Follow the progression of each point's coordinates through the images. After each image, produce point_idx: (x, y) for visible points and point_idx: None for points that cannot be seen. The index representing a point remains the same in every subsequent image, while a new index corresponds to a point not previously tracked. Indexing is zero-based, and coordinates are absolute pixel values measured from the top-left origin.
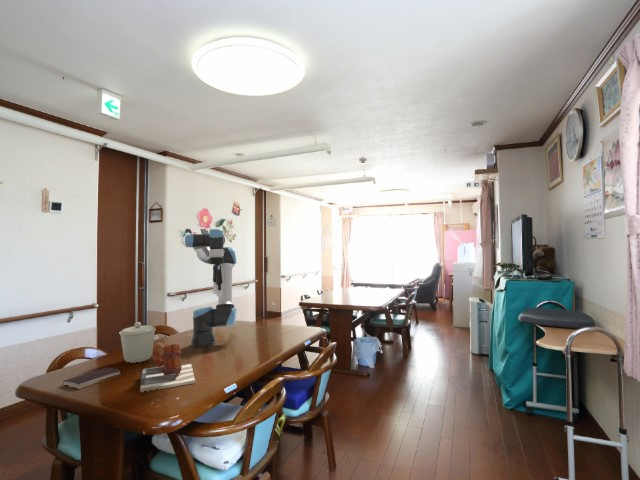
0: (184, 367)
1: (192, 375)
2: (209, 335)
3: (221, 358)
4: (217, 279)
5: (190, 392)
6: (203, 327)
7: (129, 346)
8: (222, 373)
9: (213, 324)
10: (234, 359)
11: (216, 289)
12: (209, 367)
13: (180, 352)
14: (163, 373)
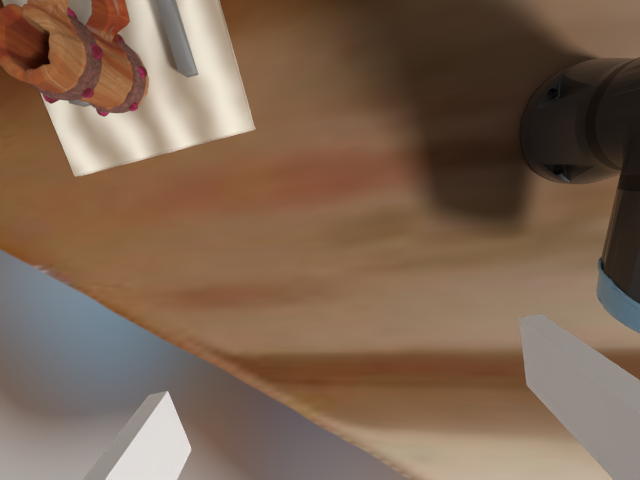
0: (212, 110)
1: (121, 158)
2: (574, 159)
3: (322, 231)
4: None
5: (9, 175)
6: (610, 122)
7: None
8: (157, 250)
9: (618, 185)
10: (296, 278)
11: (579, 410)
12: (226, 200)
13: (59, 99)
14: (156, 40)
